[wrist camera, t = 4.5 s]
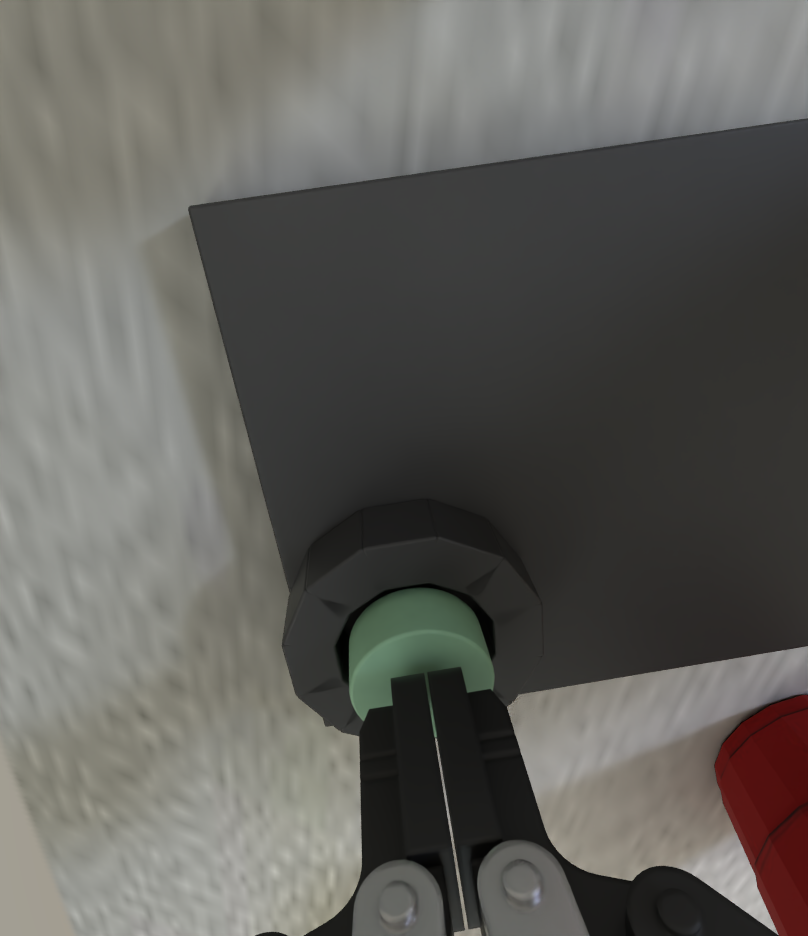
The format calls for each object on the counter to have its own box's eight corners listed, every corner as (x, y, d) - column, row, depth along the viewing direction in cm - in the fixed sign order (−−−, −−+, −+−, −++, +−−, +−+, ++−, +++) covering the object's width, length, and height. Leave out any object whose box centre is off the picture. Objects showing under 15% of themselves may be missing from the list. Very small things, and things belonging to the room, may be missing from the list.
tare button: (338, 598, 13) (337, 645, 12) (476, 576, 13) (491, 620, 12) (360, 698, 15) (361, 751, 13) (485, 678, 15) (499, 728, 13)
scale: (198, 206, 12) (154, 207, 9) (944, 100, 12) (1113, 71, 10) (324, 695, 18) (320, 784, 15) (823, 613, 18) (906, 684, 16)
